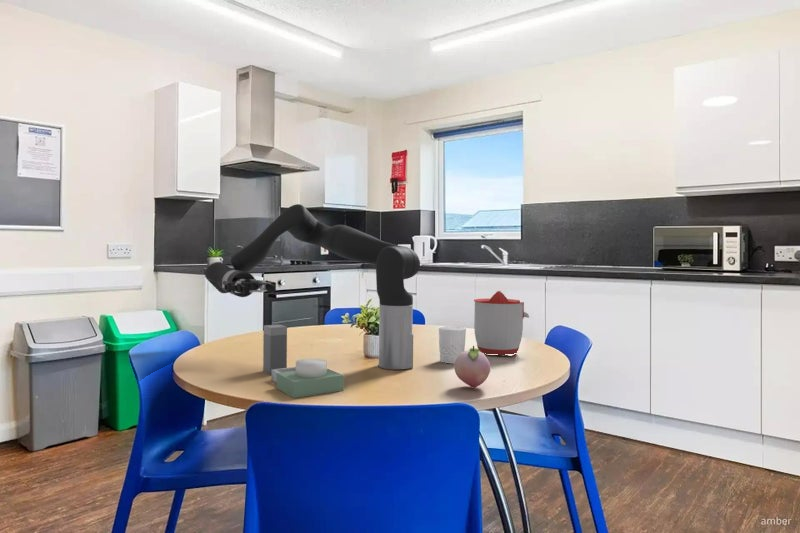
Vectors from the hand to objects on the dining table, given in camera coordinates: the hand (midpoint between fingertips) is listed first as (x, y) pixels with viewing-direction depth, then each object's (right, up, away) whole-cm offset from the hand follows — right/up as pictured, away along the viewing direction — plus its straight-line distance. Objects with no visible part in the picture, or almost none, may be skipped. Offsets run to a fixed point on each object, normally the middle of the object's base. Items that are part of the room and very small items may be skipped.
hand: (258, 289), depth 146 cm
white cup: (+54, -22, +8) cm, 59 cm away
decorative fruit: (+56, -23, -22) cm, 64 cm away
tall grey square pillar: (+6, -21, -8) cm, 24 cm away
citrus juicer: (+71, -22, +22) cm, 77 cm away
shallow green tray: (+16, -22, -22) cm, 35 cm away
